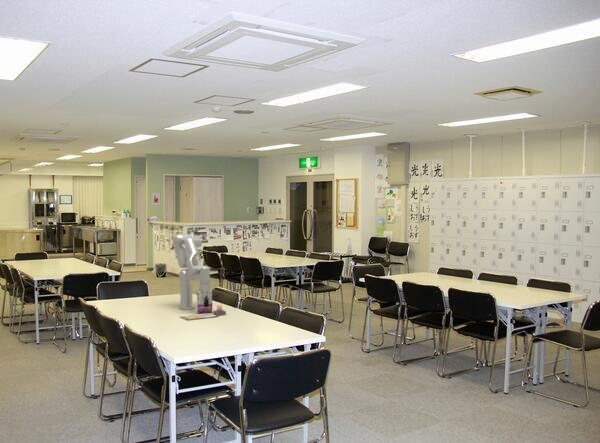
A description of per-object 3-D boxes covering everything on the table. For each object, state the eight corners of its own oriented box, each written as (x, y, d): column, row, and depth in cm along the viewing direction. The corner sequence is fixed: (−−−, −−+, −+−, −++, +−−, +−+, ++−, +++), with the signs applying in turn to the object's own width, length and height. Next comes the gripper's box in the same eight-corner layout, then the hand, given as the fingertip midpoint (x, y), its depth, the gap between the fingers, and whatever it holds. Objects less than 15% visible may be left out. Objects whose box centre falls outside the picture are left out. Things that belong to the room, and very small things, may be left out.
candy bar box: (210, 310, 430) (211, 289, 430) (212, 312, 426) (212, 291, 425) (196, 311, 426) (196, 290, 425) (197, 313, 421) (198, 291, 421)
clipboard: (179, 317, 409) (179, 316, 409) (210, 313, 423) (209, 312, 423) (187, 320, 397) (187, 319, 397) (218, 317, 410) (218, 315, 410)
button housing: (213, 314, 420) (213, 310, 420) (221, 313, 424) (221, 309, 424) (217, 316, 414) (217, 312, 414) (225, 315, 418) (225, 311, 418)
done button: (216, 312, 419) (215, 305, 419) (220, 311, 421) (220, 304, 421) (218, 312, 416) (218, 306, 416) (223, 312, 418) (223, 305, 418)
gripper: (195, 281, 430) (195, 304, 431) (204, 284, 416) (204, 308, 416) (204, 280, 434) (204, 303, 435) (213, 283, 420) (213, 307, 421)
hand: (204, 305), depth 426 cm, fingers closed on candy bar box, 5 cm apart
